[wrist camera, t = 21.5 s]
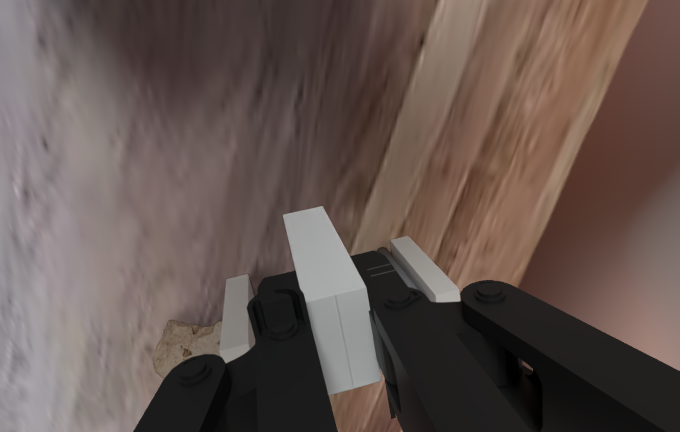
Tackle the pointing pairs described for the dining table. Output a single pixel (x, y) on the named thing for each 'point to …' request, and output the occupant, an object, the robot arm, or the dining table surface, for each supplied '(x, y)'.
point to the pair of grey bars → (239, 293)
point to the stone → (185, 344)
